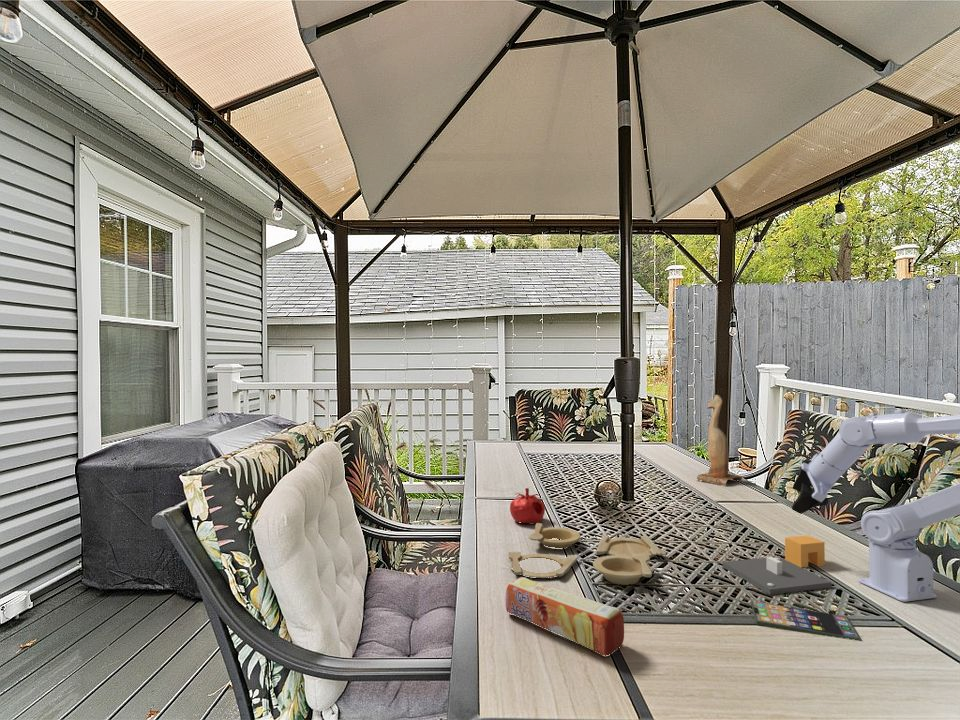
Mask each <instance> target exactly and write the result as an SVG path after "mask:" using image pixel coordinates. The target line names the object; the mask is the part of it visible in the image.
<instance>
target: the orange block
mask: <svg viewBox="0 0 960 720" xmlns="http://www.w3.org/2000/svg"><path fill="white" fill-rule="evenodd" d="M825 549H826V548H825V541H822V540H820V539H818V538H814V537H813V536H810V535H798V536H790V537H788V536H787V537H784V559H785V560H787V561H789V562H791V563H793V564H795V565H797V566H799V567H801V568H808V567H809V563H811V564H813V565H814V566H817V567H819V566H825V563H826V559H825V555H826V554H825V552H826V551H825Z"/></svg>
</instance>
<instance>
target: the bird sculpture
mask: <svg viewBox="0 0 960 720" xmlns="http://www.w3.org/2000/svg"><path fill="white" fill-rule="evenodd" d="M723 404H724V403H723V398H722V397H721V395H719V394H715V395H714V397H713V399H711V400H710V401H708V402H707V405H706V408H707V409H713V412H712V414H711V416H710V417H711V418H710V421H709V423H708V430H707V455H708V460H709V463H711V464H710V466H709V469H708V472H705V473H701V474H698V475H697V476H696V477H697V478H696V480H697V479H698V480H702V481H706V482H710V483H709V484H712V483H713V485H716V484H717V485H718V486H721V485H724V486H723V487H726V486H727V482H728V480H729V481H730V479H731V480H733V481H734V480H735V481H738V482H741V481H742V480H743V477H742V476H741V475H734V474H729V442H728V438H727V435H726V434H725V432H724V431H723V430H722V429H721V428H720V427H719V419H720V413H721V409H722V407H723ZM702 481H701V482H702ZM706 482H705V483H706Z"/></svg>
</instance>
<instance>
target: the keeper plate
mask: <svg viewBox="0 0 960 720" xmlns="http://www.w3.org/2000/svg"><path fill="white" fill-rule="evenodd" d="M722 568H724V569H726V570H728V571H729V572H731V573H733V574H734V575H736V576H737V577H739V578H741V579H742V580H744V581H746V582H748V583H750V584H751V585H753V586H754V587H757V588H758V589H760V590H762V591H763V592H765V593H766V594H768V595H778V594H786V593H787V594H788V593H796V592H803V591H811V590H813V591H814V590H821V589H829V588H832V584H833V583H832V581H830V580H828V579H825V578H824V577H821V576H819V575H817V574H815V573H813V572H812V571H809V570H807V569H805V568H804V567H802V568H801V567H799V566H797V565H795V564H793V563H791V562H789V561H787V560H785V558H783V557H781V556H765V557H759V558H757V557H756V558H749V559H741V560H740V559H739V560H730V561H722Z"/></svg>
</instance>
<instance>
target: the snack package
mask: <svg viewBox="0 0 960 720" xmlns="http://www.w3.org/2000/svg"><path fill="white" fill-rule="evenodd" d="M505 610H506V613H508V612H509V613H511V614H514V615H516V616H519V617H521V618H523V619H526V620H528V621H530V622H533V623H535V624H537V625H539V626H541V627H543V628H546V629H548V630H550V631H553V632H555V633H557V634H560V635H562V636H564V637H566V638H568V639H570V640H573V641H575V642H577V643H579V644H581V645H583V646H586V647H588V648H590V649H592V650H594V651H596V652H598V653H600V654H602V655H605V656H606V655H609V654H611V653H612V652H613V651H614V650H616V649H617V648H619V647H620V646H621V647H622V645H623V643H624V639H625V618H624V614H623V612H622V610H621V609H620V608H618V607H616V606H615V607H614V606H610V605H608V604H604V603H602V602H598V601H595V600H592V599H589V598H586V597H582V596H579V595H577V594H573V593H570V592H568V591H566V590H562V589H559V588H556V587H553V586H550V585H547V584H544V583H541V582H538V581H534V580H532V579H530V578H527V577H523V576H520V577H518V578H516V579H514V580H512V581H511V582H509V583H508V585H507V587H506V590H505ZM583 646H582V647H583ZM621 647H620V648H621ZM620 648H619V649H620ZM594 651H593V652H594ZM596 652H595V653H596ZM598 653H597V654H598Z"/></svg>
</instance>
